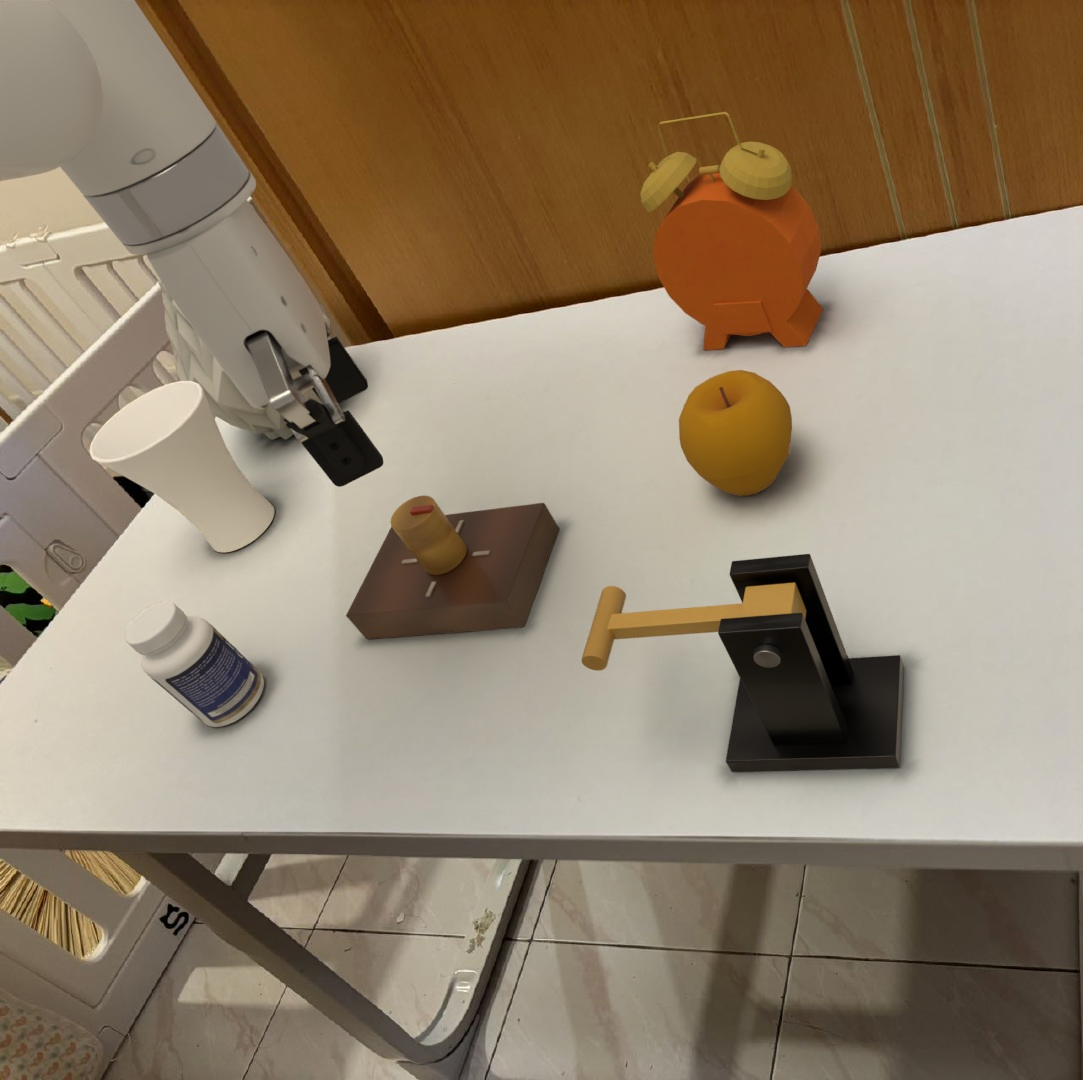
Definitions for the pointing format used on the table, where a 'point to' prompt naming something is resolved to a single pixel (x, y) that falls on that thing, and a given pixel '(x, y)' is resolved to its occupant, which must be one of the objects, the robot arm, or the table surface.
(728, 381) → the apple
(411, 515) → the dial knob
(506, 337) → the table surface
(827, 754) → the handle bracket
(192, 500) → the cup
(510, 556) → the brown dial base
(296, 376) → the vase
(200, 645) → the pill bottle
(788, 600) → the door handle
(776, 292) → the alarm clock
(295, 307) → the robot arm
